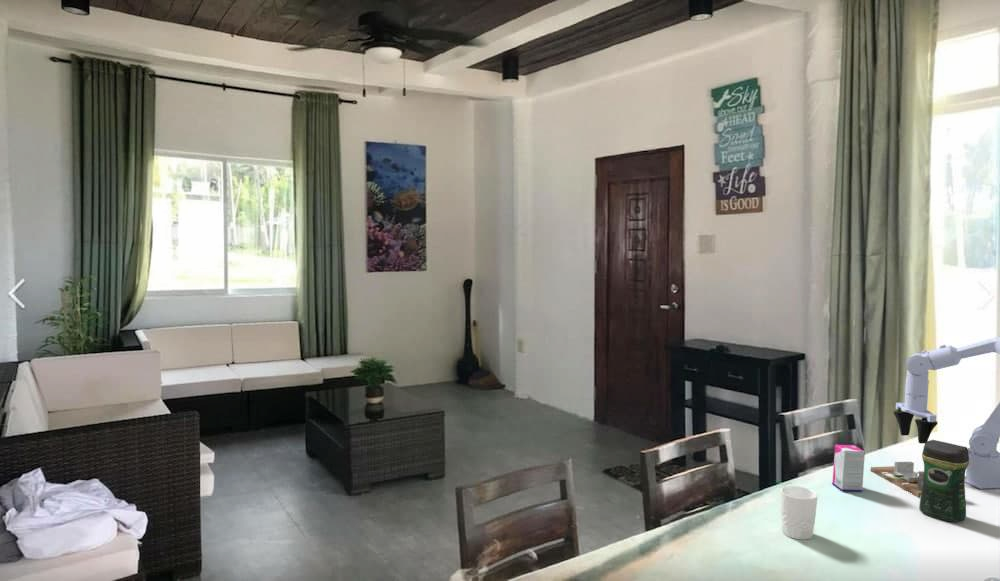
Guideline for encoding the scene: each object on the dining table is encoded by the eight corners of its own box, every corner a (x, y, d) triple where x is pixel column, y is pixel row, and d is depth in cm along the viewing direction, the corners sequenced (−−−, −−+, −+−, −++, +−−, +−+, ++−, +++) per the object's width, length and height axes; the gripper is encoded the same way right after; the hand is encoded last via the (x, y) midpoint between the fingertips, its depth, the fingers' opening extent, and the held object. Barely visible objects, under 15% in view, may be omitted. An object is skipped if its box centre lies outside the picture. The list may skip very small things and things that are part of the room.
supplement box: (863, 492, 185) (865, 451, 184) (841, 491, 185) (843, 450, 184) (852, 484, 190) (854, 444, 189) (831, 483, 190) (833, 444, 189)
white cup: (799, 544, 154) (801, 501, 153) (771, 530, 161) (773, 489, 160) (823, 536, 157) (825, 495, 156) (794, 523, 164) (796, 483, 163)
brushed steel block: (885, 474, 194) (886, 462, 194) (910, 473, 195) (911, 461, 194) (905, 485, 186) (906, 472, 186) (930, 484, 187) (931, 471, 186)
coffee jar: (970, 517, 168) (975, 445, 167) (957, 525, 164) (962, 451, 162) (927, 505, 176) (931, 435, 174) (913, 512, 171) (918, 440, 170)
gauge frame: (870, 470, 201) (871, 451, 200) (902, 470, 202) (903, 450, 201) (918, 497, 181) (919, 475, 180) (953, 496, 182) (954, 474, 181)
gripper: (887, 388, 207) (884, 432, 208) (921, 400, 192) (918, 447, 194) (909, 388, 207) (906, 431, 209) (944, 400, 193) (941, 446, 194)
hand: (913, 439), depth 201 cm, fingers open, 7 cm apart
